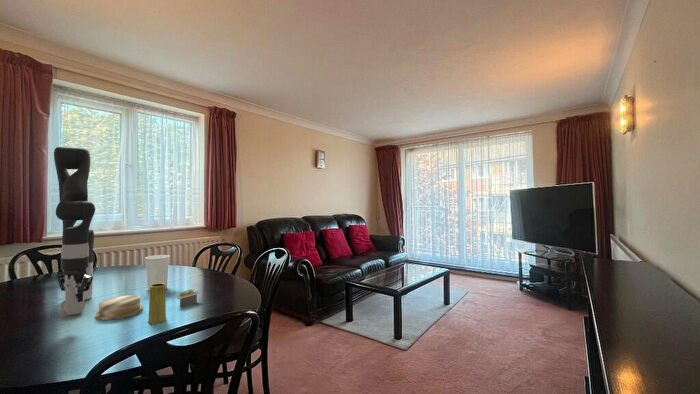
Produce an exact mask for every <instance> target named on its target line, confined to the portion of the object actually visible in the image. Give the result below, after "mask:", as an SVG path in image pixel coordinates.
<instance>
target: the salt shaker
mask: <svg viewBox="0 0 700 394" xmlns="http://www.w3.org/2000/svg"><path fill="white" fill-rule="evenodd" d="M81 283H82V282H81ZM67 284H68V285H69V287H68V291H67V295H66V299H65V298H64V303H65V304H64V303H63V304H64V311H65V312H66V313H65V314H66V315H69V316H71V315H73V314H74V315H77V314H80V313H82V312H83V310H84V309H83V308H85V307H84V306H86V302H85V301H86V300H84V297H83V301H82V302H78V298H77V297H76V295H75V289H74V288H73V286H72V285H73V280H71V278H69V279H68V280H67ZM78 284H80V283H78ZM78 284H77V285H78ZM78 288H79V289H80V287H78ZM80 300H81V299H80ZM64 311H63V312H64ZM74 315H73V316H74Z"/></svg>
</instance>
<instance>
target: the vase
mask: <svg viewBox="0 0 700 394" xmlns="http://www.w3.org/2000/svg"><path fill="white" fill-rule="evenodd" d="M165 286H166V284H165V283H157V284H152V285H150V292H149V303H148V305H149V306H148V319H147V323H148V324H150V325H151V324H152V325H155V324H156V325H157V324H161V323H164V322H165V321H166V320H167V316H166V315H167V311H166V309H167V306H166V305H167V303H166V301H167V300H166V289H165Z"/></svg>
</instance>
